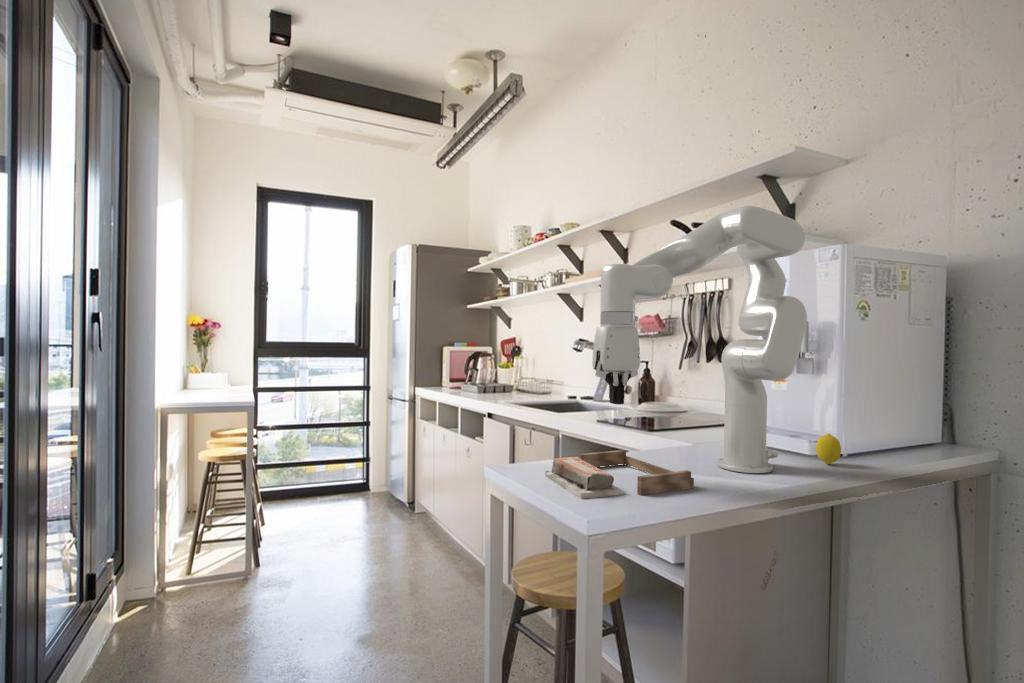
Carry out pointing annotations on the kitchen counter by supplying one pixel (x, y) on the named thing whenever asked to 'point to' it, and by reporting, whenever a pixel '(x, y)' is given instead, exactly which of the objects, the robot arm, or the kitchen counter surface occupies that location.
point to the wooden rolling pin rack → (649, 483)
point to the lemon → (828, 449)
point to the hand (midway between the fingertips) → (616, 403)
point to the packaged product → (582, 478)
